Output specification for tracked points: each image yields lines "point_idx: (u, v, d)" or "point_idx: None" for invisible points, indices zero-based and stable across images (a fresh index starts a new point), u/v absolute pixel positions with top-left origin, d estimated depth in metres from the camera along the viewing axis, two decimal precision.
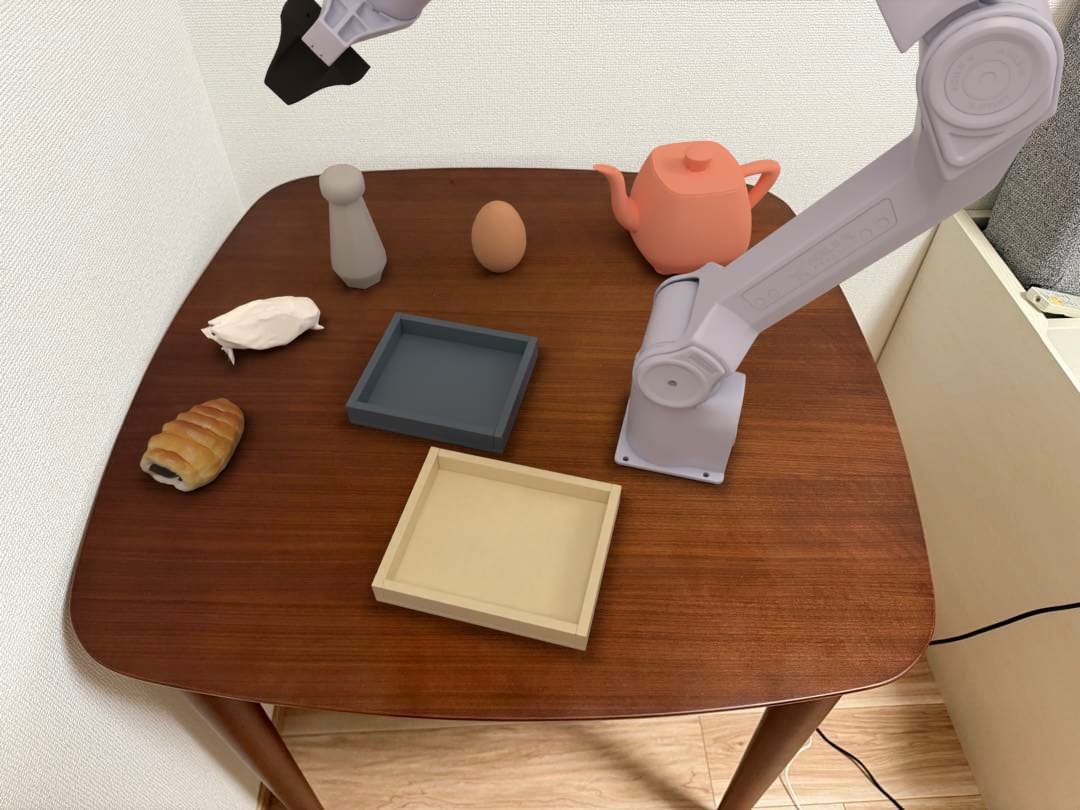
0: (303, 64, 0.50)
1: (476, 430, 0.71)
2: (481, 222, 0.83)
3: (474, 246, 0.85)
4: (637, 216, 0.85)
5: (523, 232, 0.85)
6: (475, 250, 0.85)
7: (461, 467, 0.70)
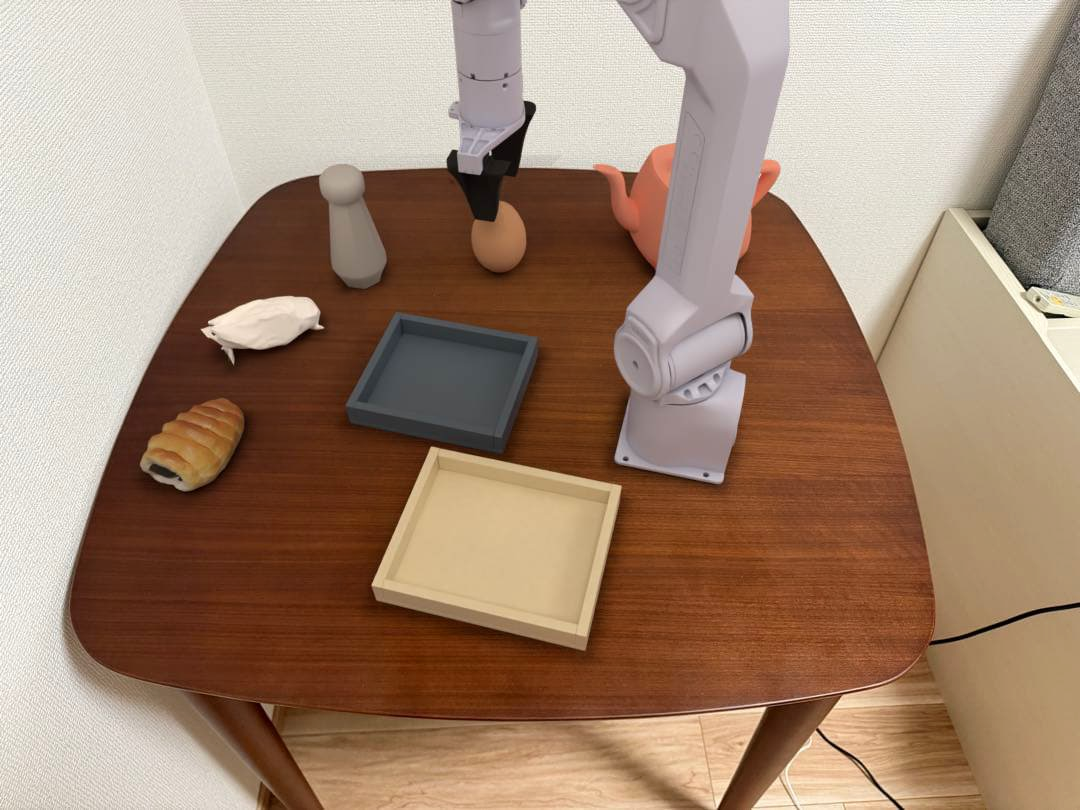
0: (481, 190, 0.76)
1: (476, 430, 0.71)
2: (481, 222, 0.83)
3: (474, 246, 0.85)
4: (637, 216, 0.85)
5: (523, 232, 0.85)
6: (475, 250, 0.85)
7: (461, 467, 0.70)
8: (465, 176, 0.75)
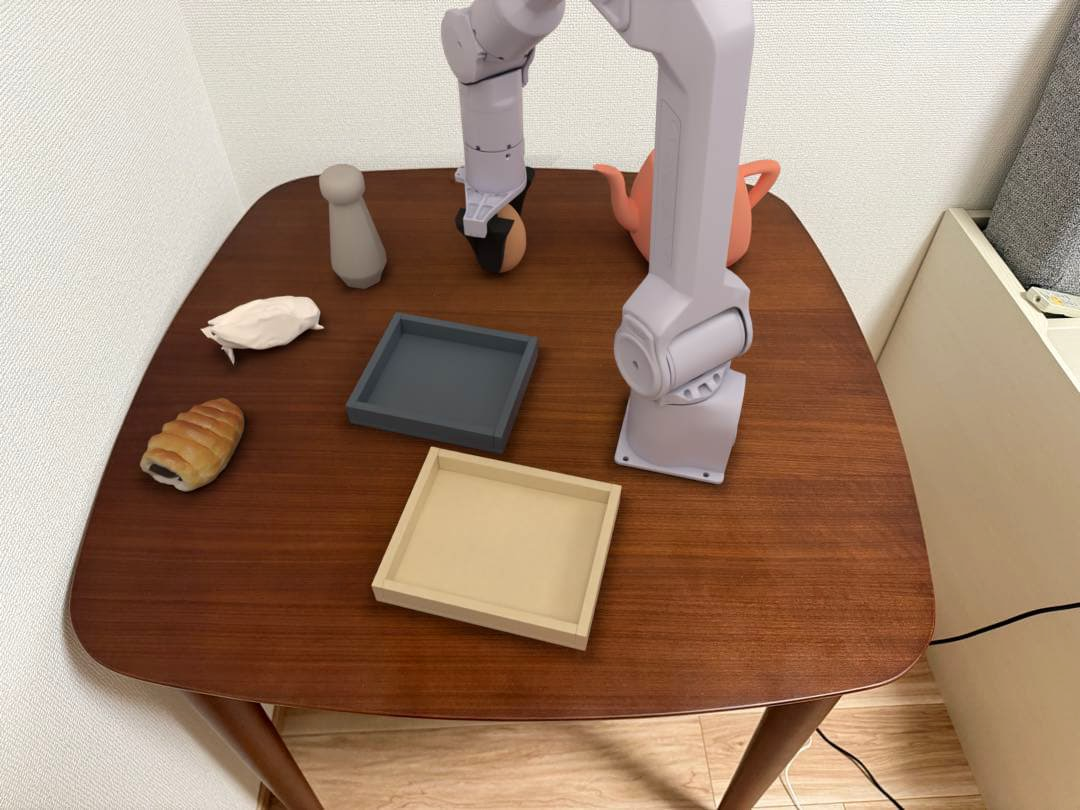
0: (487, 244, 0.82)
1: (476, 430, 0.71)
2: None
3: None
4: (637, 216, 0.85)
5: (523, 232, 0.85)
6: None
7: (461, 467, 0.70)
8: None
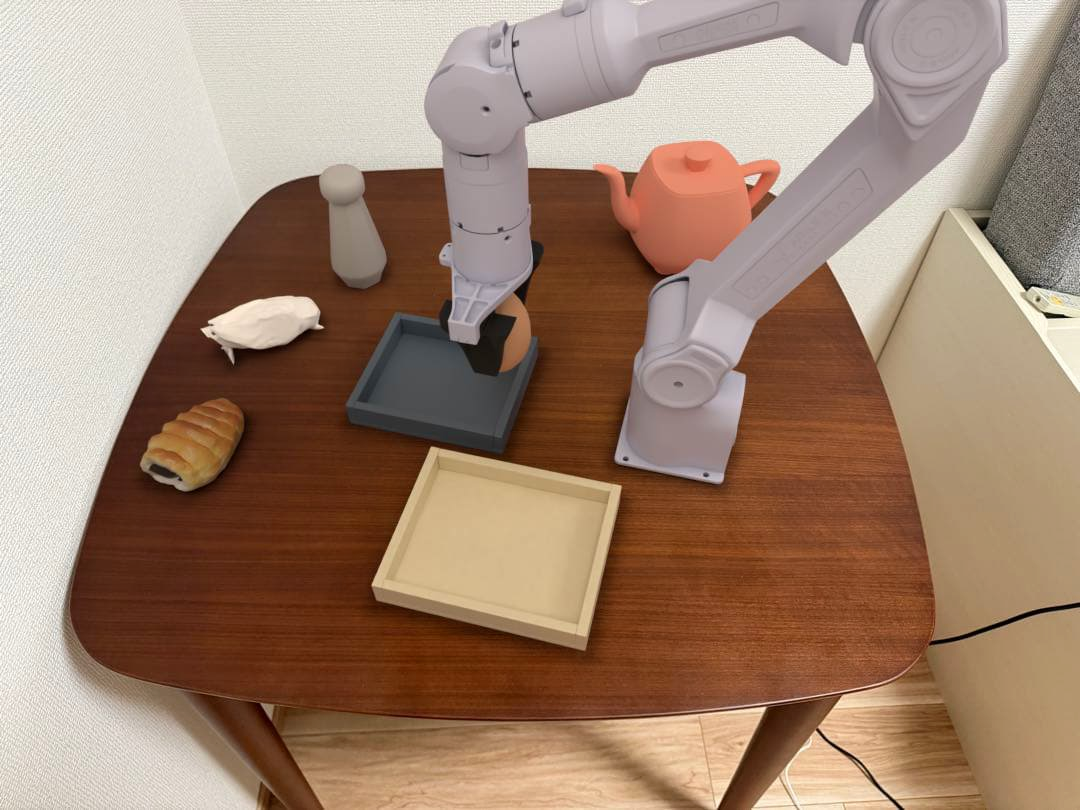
0: (481, 344, 0.63)
1: (476, 430, 0.71)
2: None
3: None
4: (637, 216, 0.85)
5: (527, 325, 0.66)
6: None
7: (461, 467, 0.70)
8: None
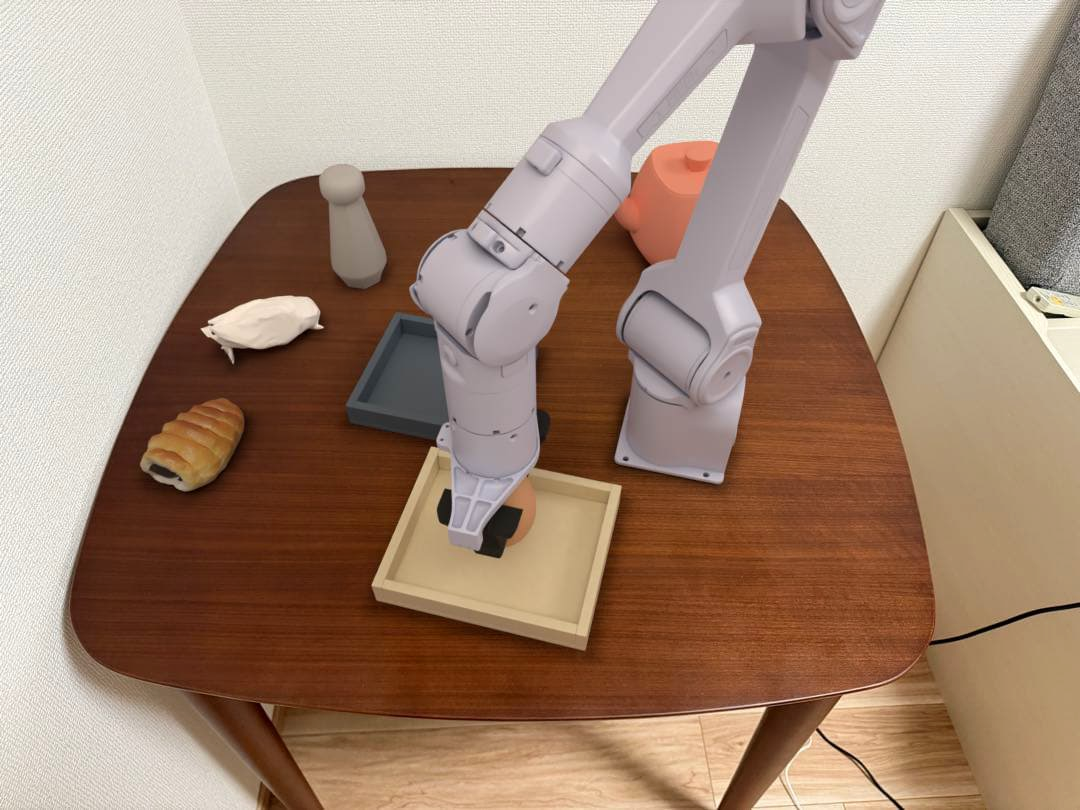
0: None
1: None
2: None
3: None
4: (637, 216, 0.85)
5: (532, 502, 0.60)
6: None
7: None
8: None
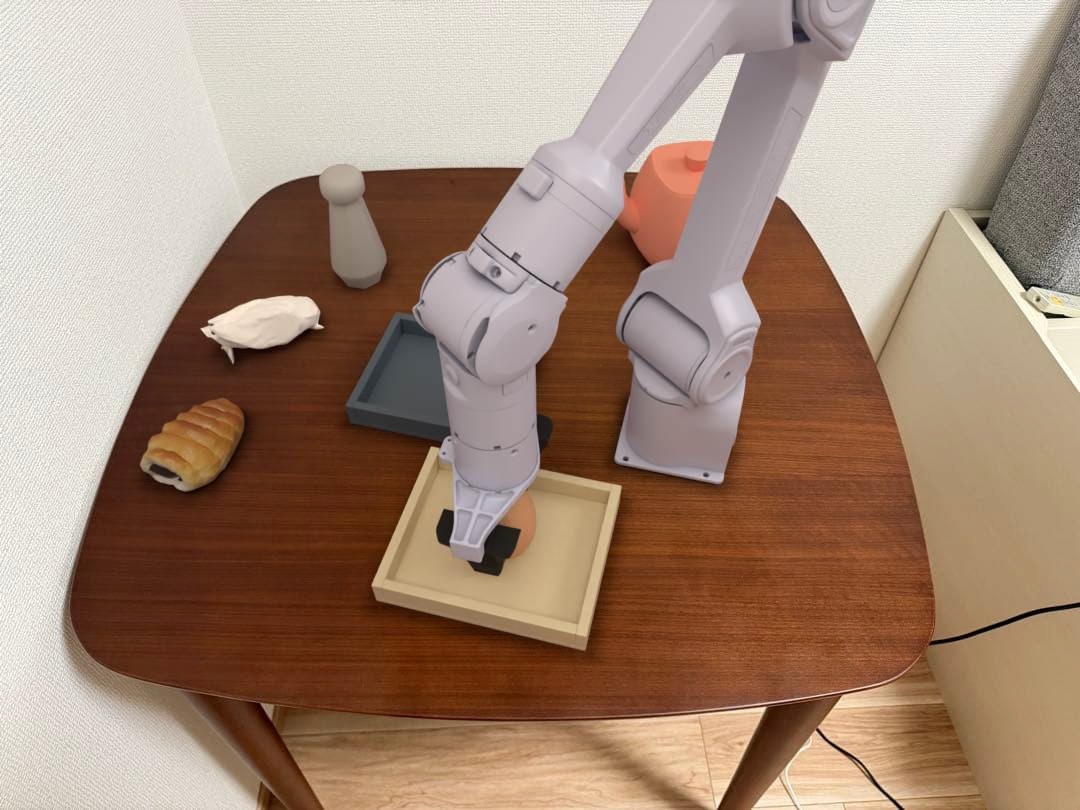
0: None
1: None
2: None
3: None
4: (637, 216, 0.85)
5: (532, 517, 0.62)
6: None
7: None
8: None
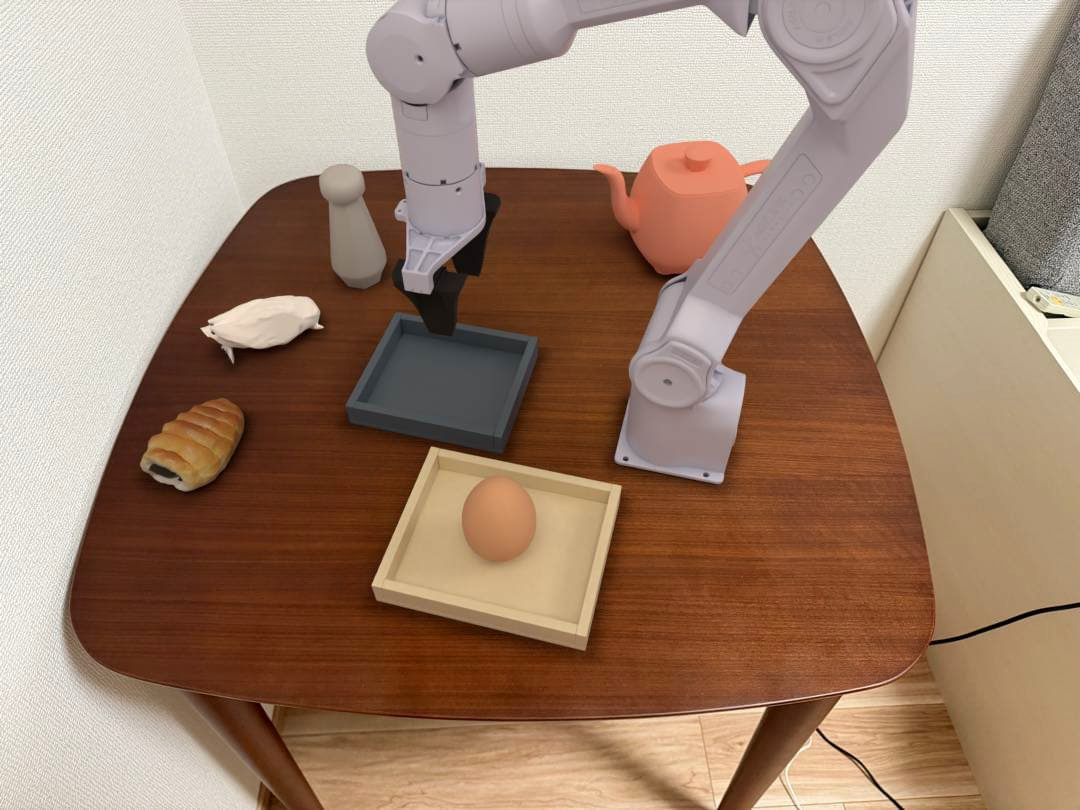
0: (435, 303, 0.65)
1: (476, 430, 0.71)
2: (475, 512, 0.60)
3: (465, 534, 0.62)
4: (637, 216, 0.85)
5: (533, 517, 0.62)
6: (467, 539, 0.62)
7: (461, 467, 0.70)
8: None
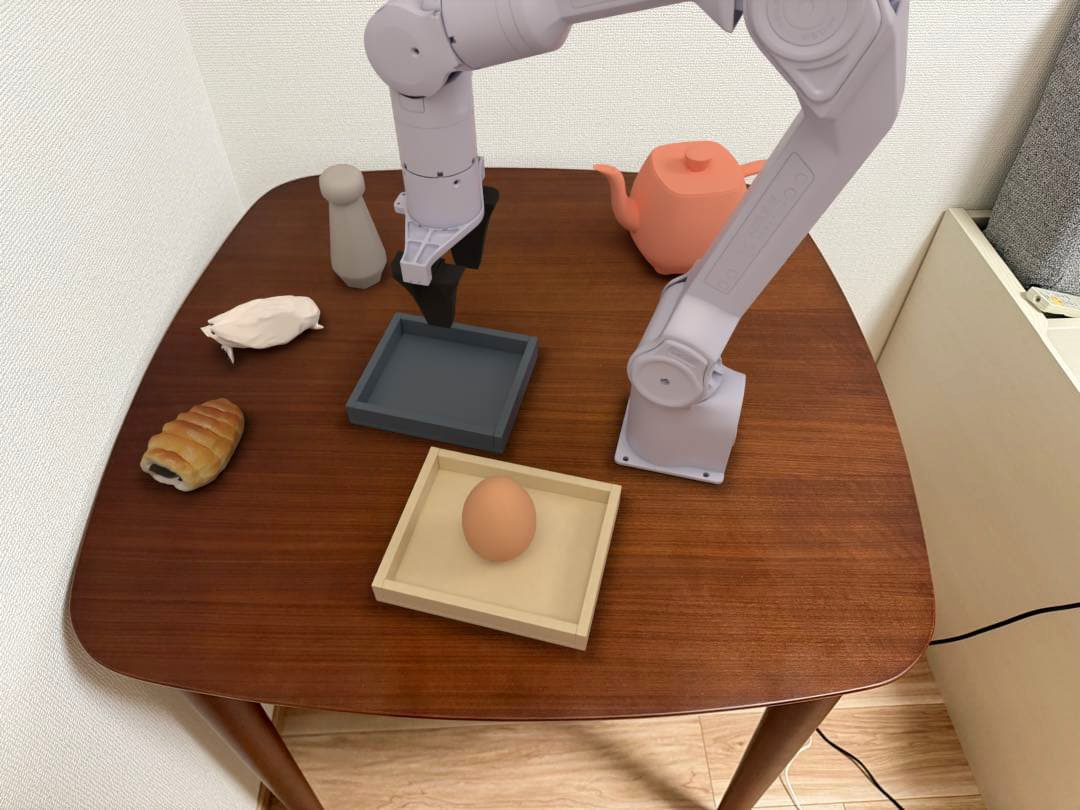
0: (434, 295, 0.65)
1: (476, 430, 0.71)
2: (475, 512, 0.60)
3: (465, 534, 0.62)
4: (637, 216, 0.85)
5: (533, 517, 0.62)
6: (467, 539, 0.62)
7: (461, 467, 0.70)
8: None
